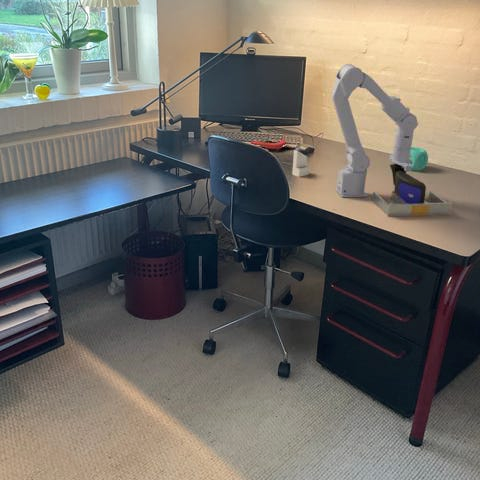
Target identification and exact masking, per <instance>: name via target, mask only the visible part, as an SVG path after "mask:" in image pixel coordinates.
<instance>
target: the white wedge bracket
mask: <svg viewBox="0 0 480 480" xmlns="http://www.w3.org/2000/svg"><path fill="white" fill-rule="evenodd" d="M292 158H293V160H292V161H293V162H292V174H291V175H293V176H296V177H298V178H300V177H304V176H308V175H310V171H311V166H309V165H308V163H307V162H308V156H307V155H306V154H303V152H301V151H299V150H297V149H293V157H292Z"/></svg>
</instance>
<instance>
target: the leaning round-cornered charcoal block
mask: <svg viewBox="0 0 480 480" xmlns="http://www.w3.org/2000/svg"><path fill="white" fill-rule="evenodd" d="M393 191H395V192H396V193H397V194H398V195H399V196H400V197H401V198H402V199H403V200H404V201H405V202H407V203H424V201H426V191H427V186H426V184H425V183H424V182H422V181H421V180H419V179H417V178H415V177H414V176H412V175H410V174H408V173H407V172H406V173H405V172H403V171H400V170H399V171H397V172H396V176H395V185H394V189H393Z"/></svg>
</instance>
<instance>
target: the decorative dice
mask: <svg viewBox="0 0 480 480" xmlns="http://www.w3.org/2000/svg"><path fill="white" fill-rule="evenodd" d="M409 159H411V160H412V162H410V164H411V166H412V168H411V171H410V172H419V171H420V172H421V171H422V170H424V169H425V167H426V166H427V164H428V161H429V154H428V152H427V151H426V149H424V148H422V147H416V146H411V151H410V158H409Z"/></svg>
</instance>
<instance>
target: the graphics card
mask: <svg viewBox="0 0 480 480" xmlns="http://www.w3.org/2000/svg"><path fill="white" fill-rule="evenodd" d="M266 142H267V143H266ZM266 142H265V143H263V142H259V141H252V142H251V144H254V145H260V146H263V147H265V148H267V149H268V150H270V151H269V152H271V151H272V152H273V151H274V153H275V151H277V152H279V151H278V149H280V150H281V149H283V148H282V146H283V145H285V144H286V145H287V142H286V140H284V139H283V140H281V142H280V141H279V142H272V141H266ZM268 142H269V143H268Z"/></svg>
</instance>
